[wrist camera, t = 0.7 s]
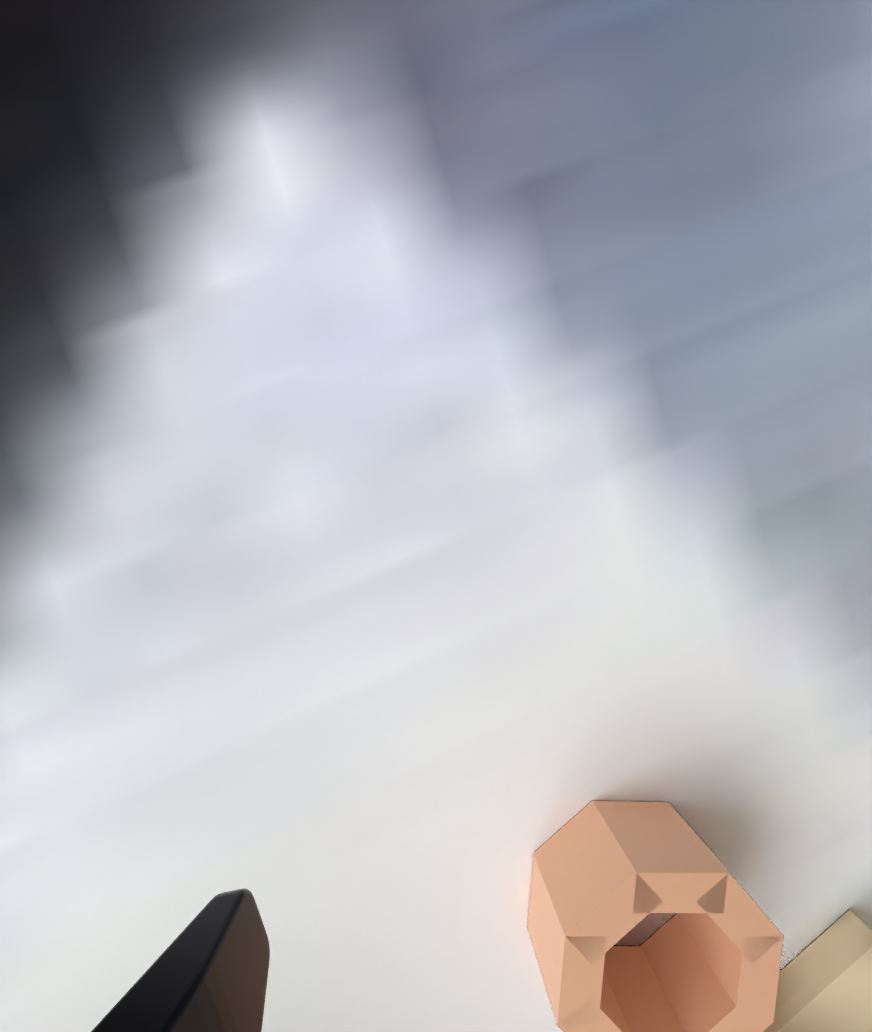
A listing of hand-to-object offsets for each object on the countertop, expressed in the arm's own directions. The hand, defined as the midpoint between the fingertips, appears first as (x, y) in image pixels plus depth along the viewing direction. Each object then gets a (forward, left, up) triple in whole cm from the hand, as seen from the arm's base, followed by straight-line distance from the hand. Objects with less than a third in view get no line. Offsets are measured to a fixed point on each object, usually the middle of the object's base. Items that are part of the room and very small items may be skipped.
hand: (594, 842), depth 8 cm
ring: (-3, -12, -14) cm, 19 cm away
